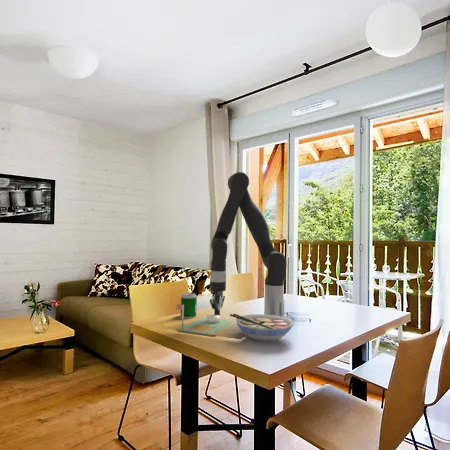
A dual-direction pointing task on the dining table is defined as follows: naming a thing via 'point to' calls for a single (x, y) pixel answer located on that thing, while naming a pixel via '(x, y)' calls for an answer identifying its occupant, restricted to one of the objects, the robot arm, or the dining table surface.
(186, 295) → the soda can
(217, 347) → the dining table surface
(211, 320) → the white dome knob
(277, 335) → the ramen bowl
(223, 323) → the putting board
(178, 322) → the dining table surface
